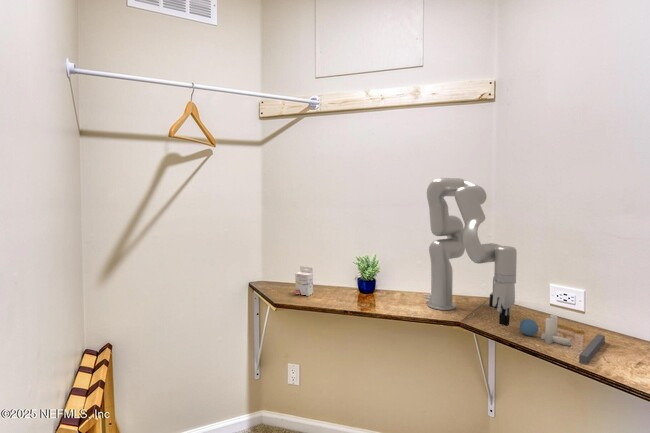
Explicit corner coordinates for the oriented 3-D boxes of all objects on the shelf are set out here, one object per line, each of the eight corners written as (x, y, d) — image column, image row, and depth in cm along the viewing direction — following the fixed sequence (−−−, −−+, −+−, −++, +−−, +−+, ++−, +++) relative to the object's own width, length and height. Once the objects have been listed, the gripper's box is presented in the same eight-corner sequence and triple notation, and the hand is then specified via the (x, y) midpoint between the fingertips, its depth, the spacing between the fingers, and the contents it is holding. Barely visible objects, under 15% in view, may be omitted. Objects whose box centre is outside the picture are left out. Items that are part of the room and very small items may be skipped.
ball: (537, 330, 124) (528, 341, 127) (544, 325, 128) (535, 336, 131) (522, 317, 128) (513, 329, 131) (529, 313, 132) (520, 324, 134)
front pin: (540, 335, 125) (569, 342, 119) (542, 331, 126) (570, 338, 120) (541, 340, 126) (569, 347, 120) (543, 336, 127) (571, 343, 121)
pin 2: (548, 338, 126) (549, 315, 126) (550, 337, 127) (551, 314, 127) (555, 340, 124) (556, 317, 124) (557, 338, 126) (558, 315, 125)
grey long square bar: (579, 362, 108) (579, 354, 108) (597, 340, 124) (597, 333, 124) (587, 364, 107) (587, 356, 106) (604, 342, 122) (604, 335, 122)
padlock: (488, 306, 163) (488, 275, 162) (490, 304, 166) (490, 273, 165) (504, 309, 159) (504, 276, 158) (506, 307, 162) (506, 275, 161)
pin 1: (544, 342, 123) (544, 318, 122) (546, 340, 124) (546, 317, 124) (551, 344, 121) (551, 320, 121) (553, 342, 123) (554, 319, 122)
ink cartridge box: (295, 294, 186) (294, 267, 186) (300, 292, 191) (300, 265, 190) (308, 297, 182) (307, 269, 181) (313, 294, 186) (313, 267, 185)
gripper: (503, 273, 143) (502, 317, 144) (486, 279, 133) (485, 326, 134) (522, 276, 137) (521, 322, 138) (507, 283, 127) (506, 332, 129)
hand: (504, 324), depth 136 cm, fingers closed
